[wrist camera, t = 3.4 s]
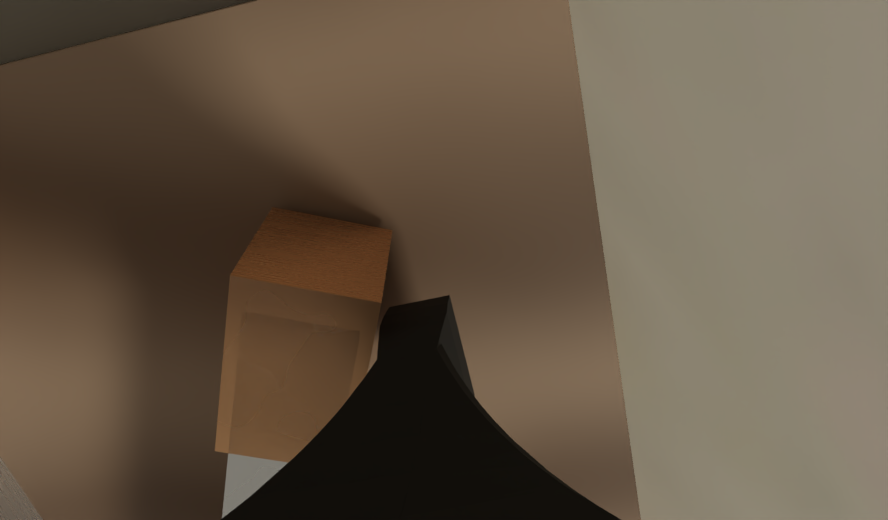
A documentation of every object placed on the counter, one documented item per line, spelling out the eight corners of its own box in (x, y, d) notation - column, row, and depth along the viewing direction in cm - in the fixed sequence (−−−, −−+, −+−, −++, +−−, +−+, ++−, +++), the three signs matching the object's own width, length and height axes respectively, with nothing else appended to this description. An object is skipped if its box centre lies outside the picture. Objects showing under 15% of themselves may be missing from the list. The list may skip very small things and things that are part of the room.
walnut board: (651, 662, 19) (668, 718, 17) (-116, 780, 21) (-155, 838, 19) (542, -74, 11) (557, -76, 9) (-688, 239, 13) (-821, 274, 11)
